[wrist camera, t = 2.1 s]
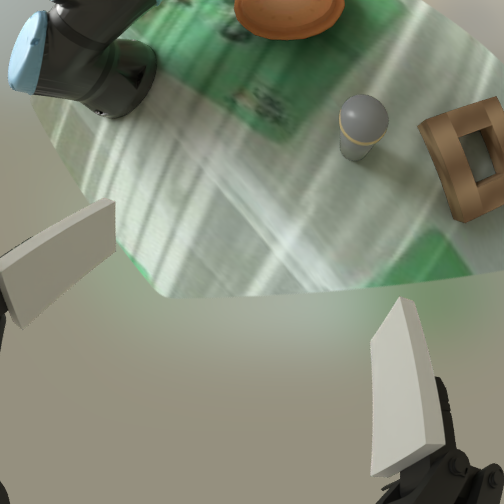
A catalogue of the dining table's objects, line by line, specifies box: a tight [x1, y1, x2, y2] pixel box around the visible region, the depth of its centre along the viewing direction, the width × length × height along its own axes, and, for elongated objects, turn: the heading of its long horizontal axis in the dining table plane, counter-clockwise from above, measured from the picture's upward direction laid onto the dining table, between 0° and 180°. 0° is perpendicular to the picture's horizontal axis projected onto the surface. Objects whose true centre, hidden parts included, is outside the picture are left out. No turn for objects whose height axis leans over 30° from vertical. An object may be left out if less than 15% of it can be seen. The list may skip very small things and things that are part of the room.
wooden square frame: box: [417, 96, 504, 223], centre depth 25 cm, size 13×13×4 cm
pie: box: [234, 0, 345, 40], centre depth 27 cm, size 15×16×5 cm
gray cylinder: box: [339, 95, 388, 161], centre depth 25 cm, size 4×4×16 cm
